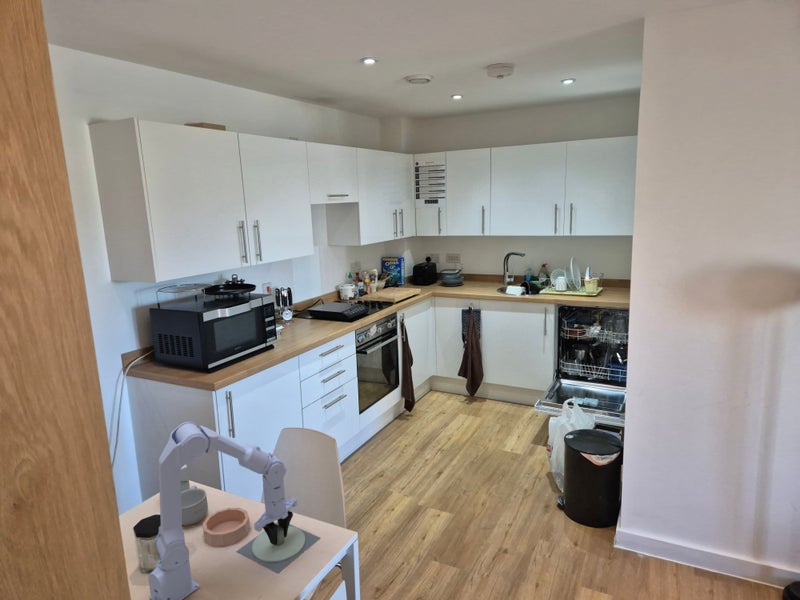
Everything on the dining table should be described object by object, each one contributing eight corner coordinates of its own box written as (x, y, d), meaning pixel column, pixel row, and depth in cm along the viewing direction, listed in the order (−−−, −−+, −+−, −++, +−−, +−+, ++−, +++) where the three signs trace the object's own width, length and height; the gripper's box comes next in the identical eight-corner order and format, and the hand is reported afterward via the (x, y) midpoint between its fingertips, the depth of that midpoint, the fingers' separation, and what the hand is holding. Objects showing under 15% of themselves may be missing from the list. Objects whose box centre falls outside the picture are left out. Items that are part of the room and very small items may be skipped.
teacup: (201, 530, 158) (198, 506, 156) (166, 530, 158) (163, 507, 157) (217, 503, 172) (215, 481, 170) (185, 504, 172) (182, 482, 170)
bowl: (223, 553, 147) (221, 539, 146) (195, 538, 154) (193, 525, 153) (258, 528, 157) (257, 515, 157) (230, 516, 164) (229, 503, 164)
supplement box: (169, 509, 169) (164, 474, 167) (162, 500, 175) (157, 466, 172) (192, 500, 174) (187, 466, 172) (184, 491, 180) (180, 458, 177)
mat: (278, 575, 138) (277, 573, 137) (236, 553, 147) (236, 551, 147) (320, 539, 151) (320, 537, 151) (280, 521, 161) (280, 519, 161)
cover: (278, 569, 139) (276, 554, 138) (241, 550, 147) (239, 535, 146) (316, 538, 151) (314, 523, 150) (279, 522, 159) (278, 508, 158)
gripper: (264, 514, 138) (269, 559, 141) (302, 488, 150) (306, 530, 152) (247, 506, 142) (251, 550, 144) (285, 482, 154) (289, 522, 156)
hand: (278, 539), depth 149 cm, fingers closed on cover, 3 cm apart
